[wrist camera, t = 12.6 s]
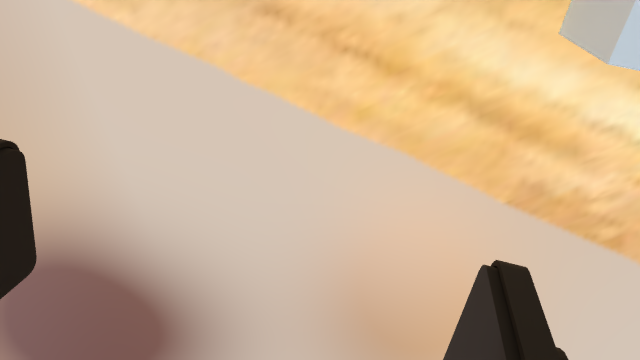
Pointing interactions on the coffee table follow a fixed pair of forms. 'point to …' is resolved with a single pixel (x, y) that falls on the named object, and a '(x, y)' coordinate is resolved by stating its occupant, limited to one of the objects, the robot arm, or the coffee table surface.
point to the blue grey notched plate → (606, 30)
